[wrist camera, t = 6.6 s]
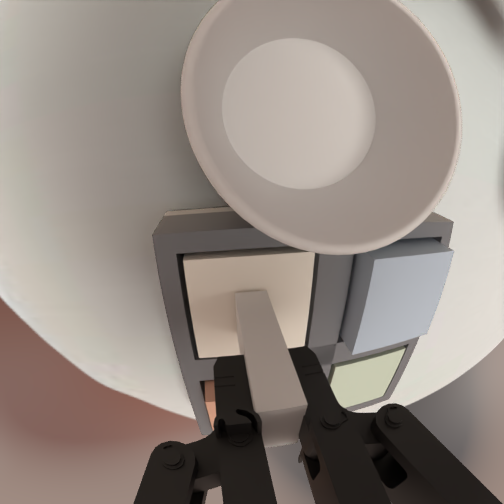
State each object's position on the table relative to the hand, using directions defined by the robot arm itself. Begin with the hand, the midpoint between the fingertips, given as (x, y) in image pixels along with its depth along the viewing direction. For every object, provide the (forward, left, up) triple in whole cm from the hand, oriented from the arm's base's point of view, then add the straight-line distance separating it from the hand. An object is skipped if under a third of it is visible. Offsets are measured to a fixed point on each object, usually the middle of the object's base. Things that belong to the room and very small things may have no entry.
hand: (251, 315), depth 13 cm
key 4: (0, 0, -3) cm, 3 cm away
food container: (-10, +4, -5) cm, 12 cm away
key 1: (+8, +9, -3) cm, 12 cm away
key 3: (0, +9, -1) cm, 9 cm away
